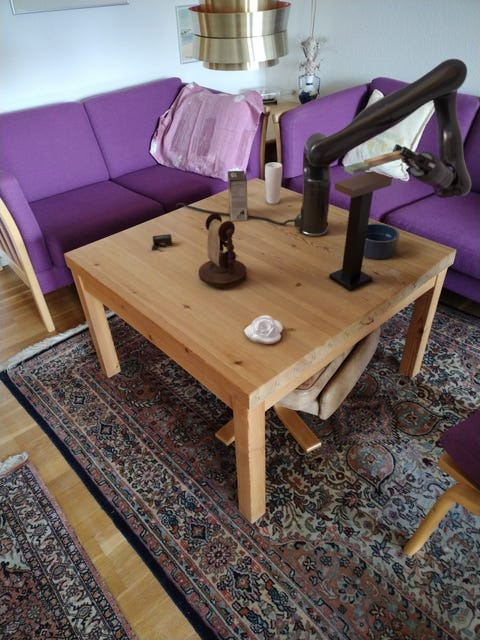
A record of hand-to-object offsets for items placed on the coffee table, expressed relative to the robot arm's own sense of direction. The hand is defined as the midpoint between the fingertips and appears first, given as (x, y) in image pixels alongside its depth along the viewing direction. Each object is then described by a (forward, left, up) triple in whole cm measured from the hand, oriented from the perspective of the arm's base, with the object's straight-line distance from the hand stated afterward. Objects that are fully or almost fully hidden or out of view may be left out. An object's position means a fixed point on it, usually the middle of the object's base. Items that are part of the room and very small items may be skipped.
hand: (398, 149), depth 126 cm
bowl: (-1, +11, -37) cm, 39 cm away
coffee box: (-54, +27, -37) cm, 71 cm away
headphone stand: (-8, -9, -37) cm, 39 cm away
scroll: (-46, -17, -37) cm, 61 cm away
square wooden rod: (-4, -5, -2) cm, 7 cm away
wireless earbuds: (-73, -3, -37) cm, 82 cm away
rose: (-27, -41, -37) cm, 61 cm away
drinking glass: (-44, +43, -37) cm, 71 cm away
